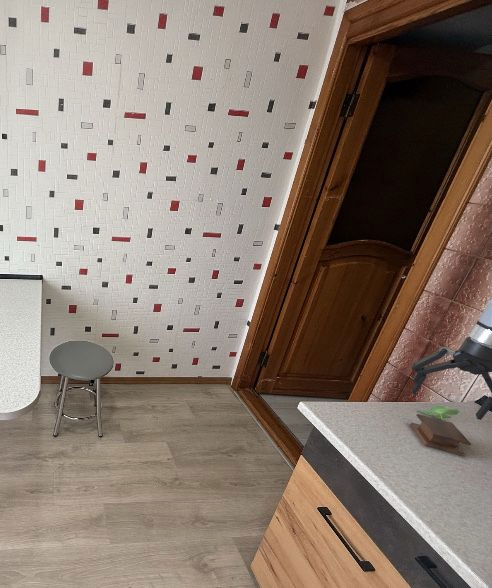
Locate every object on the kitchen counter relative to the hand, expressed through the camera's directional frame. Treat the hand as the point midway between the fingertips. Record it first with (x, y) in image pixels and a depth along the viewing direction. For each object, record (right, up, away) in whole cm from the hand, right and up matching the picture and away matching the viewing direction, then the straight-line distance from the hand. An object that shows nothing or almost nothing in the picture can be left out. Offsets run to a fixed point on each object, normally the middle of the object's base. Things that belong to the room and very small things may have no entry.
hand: (444, 404), depth 97 cm
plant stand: (-8, -9, -5) cm, 13 cm away
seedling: (0, -6, +3) cm, 7 cm away
